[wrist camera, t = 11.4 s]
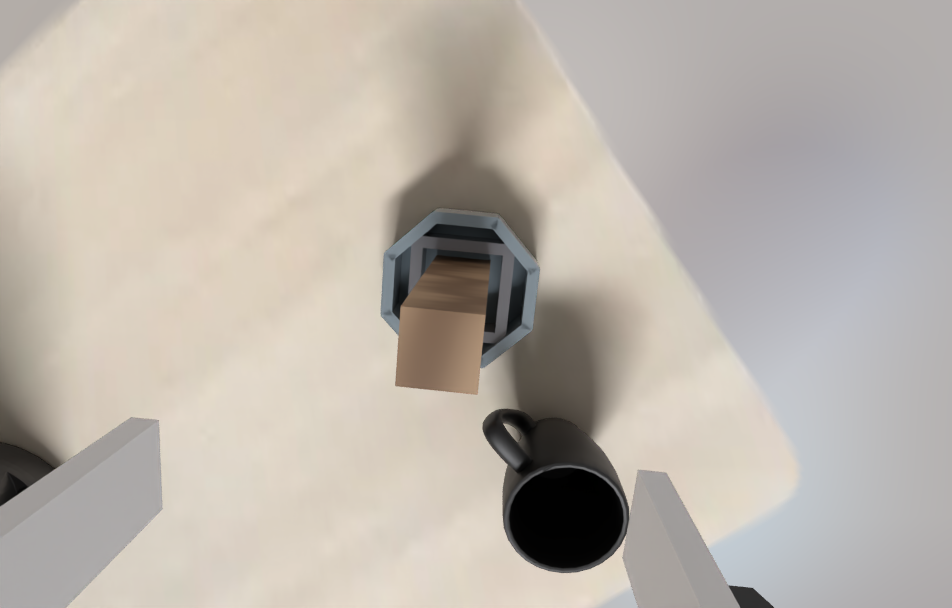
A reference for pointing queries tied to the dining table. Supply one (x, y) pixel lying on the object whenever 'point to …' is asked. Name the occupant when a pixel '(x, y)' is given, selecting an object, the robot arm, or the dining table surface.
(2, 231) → the dining table surface
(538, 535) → the mug
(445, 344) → the wooden post
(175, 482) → the dining table surface
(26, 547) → the robot arm
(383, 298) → the octagonal peg hole ring
